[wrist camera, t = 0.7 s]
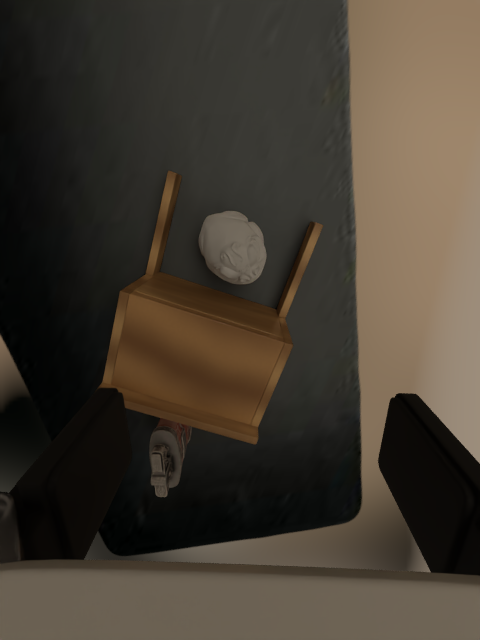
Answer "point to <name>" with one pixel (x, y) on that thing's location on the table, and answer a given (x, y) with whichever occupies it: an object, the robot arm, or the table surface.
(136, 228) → the table surface
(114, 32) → the table surface
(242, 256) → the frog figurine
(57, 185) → the table surface
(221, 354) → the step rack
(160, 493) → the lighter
